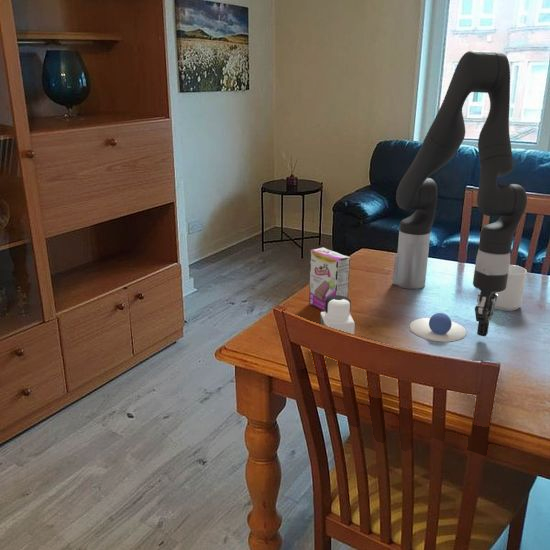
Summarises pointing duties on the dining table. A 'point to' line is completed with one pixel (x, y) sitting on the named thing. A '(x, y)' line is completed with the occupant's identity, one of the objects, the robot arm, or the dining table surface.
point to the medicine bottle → (338, 314)
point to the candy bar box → (327, 276)
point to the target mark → (424, 331)
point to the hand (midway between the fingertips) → (482, 334)
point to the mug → (512, 289)
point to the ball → (440, 323)
